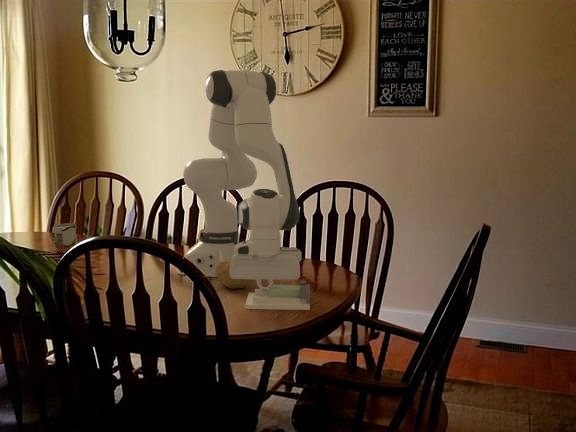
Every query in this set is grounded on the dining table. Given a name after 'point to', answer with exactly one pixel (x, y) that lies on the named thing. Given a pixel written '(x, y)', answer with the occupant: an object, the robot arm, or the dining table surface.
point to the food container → (65, 235)
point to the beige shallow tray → (280, 300)
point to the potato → (224, 276)
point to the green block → (285, 291)
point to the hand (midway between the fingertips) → (264, 293)
